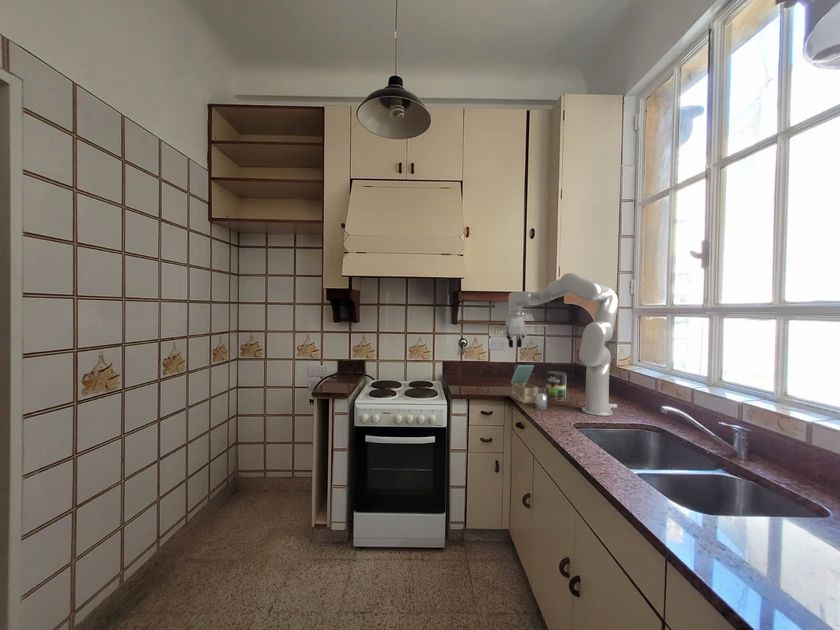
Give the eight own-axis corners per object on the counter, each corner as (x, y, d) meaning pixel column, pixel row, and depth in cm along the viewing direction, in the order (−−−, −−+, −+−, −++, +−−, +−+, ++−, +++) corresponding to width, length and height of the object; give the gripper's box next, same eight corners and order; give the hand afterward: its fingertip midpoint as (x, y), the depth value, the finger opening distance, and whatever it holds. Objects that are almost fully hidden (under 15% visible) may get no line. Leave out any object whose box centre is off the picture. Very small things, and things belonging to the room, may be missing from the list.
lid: (526, 382, 187) (526, 381, 188) (534, 366, 180) (533, 365, 181) (511, 383, 185) (510, 382, 185) (518, 366, 178) (517, 365, 179)
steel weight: (543, 406, 168) (543, 392, 168) (549, 409, 163) (549, 395, 163) (533, 407, 167) (534, 393, 167) (539, 410, 162) (539, 395, 162)
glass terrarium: (562, 401, 179) (562, 374, 179) (542, 398, 186) (543, 372, 186) (569, 398, 187) (569, 372, 187) (550, 395, 194) (550, 370, 194)
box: (526, 397, 187) (526, 383, 187) (538, 403, 175) (539, 387, 175) (511, 398, 185) (511, 383, 185) (523, 404, 173) (523, 388, 173)
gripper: (525, 314, 196) (525, 346, 196) (498, 314, 192) (498, 346, 192) (532, 314, 189) (532, 347, 189) (504, 314, 185) (504, 348, 185)
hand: (515, 346), depth 190 cm, fingers open, 4 cm apart
